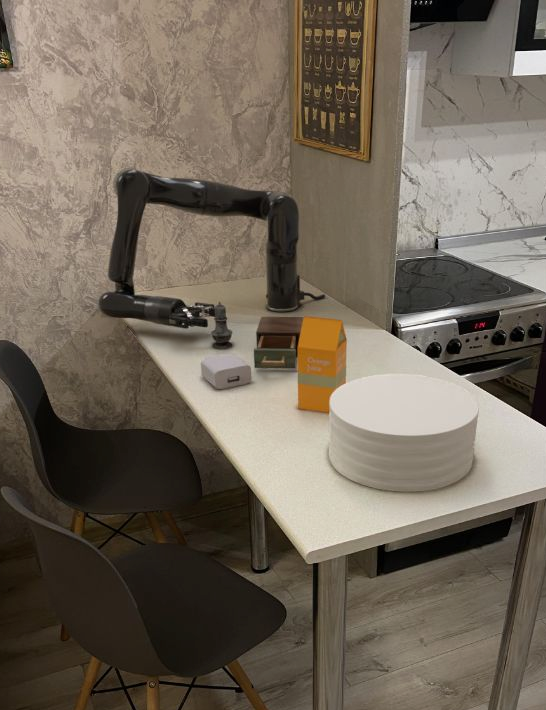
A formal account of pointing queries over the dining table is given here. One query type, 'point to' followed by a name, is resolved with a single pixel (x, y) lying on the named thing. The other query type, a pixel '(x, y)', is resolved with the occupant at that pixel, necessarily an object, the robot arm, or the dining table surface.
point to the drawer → (275, 352)
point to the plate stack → (402, 431)
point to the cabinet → (280, 327)
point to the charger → (225, 371)
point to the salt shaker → (221, 328)
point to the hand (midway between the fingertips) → (215, 318)
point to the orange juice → (320, 362)
